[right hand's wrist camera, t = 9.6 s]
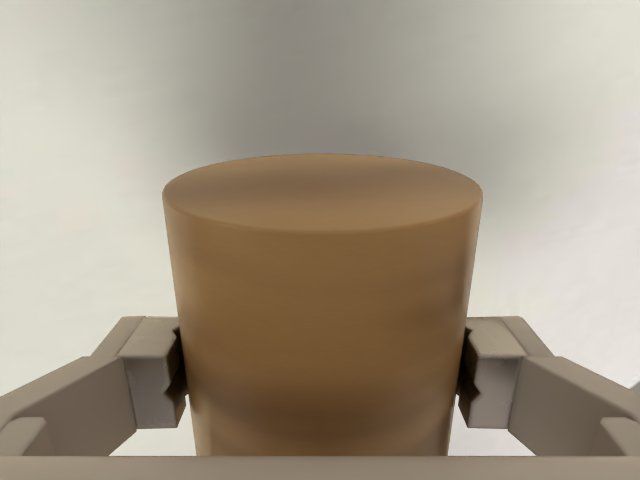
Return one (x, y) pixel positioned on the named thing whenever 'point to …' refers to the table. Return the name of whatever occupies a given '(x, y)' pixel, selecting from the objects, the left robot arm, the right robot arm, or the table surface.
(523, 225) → the table surface
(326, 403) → the rod
